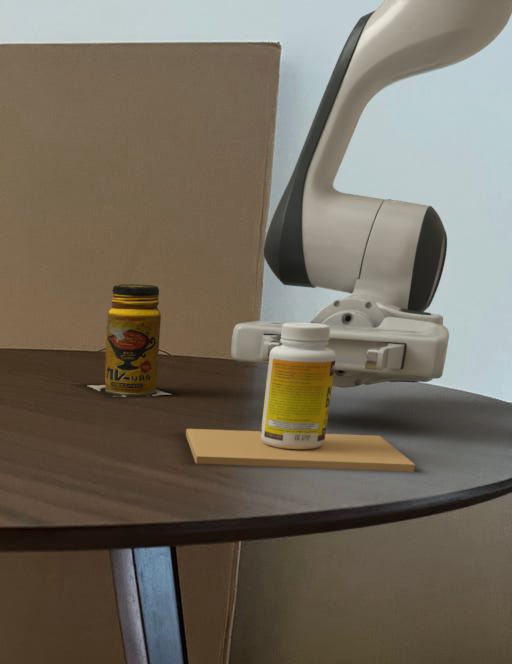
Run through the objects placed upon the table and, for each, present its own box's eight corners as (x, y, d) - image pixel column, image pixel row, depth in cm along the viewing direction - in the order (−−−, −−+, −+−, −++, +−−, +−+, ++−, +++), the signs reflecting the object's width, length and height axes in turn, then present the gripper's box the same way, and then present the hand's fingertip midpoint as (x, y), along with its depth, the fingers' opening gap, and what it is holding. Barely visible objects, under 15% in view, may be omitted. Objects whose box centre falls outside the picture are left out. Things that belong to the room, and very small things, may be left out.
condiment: (114, 398, 117) (120, 287, 112) (85, 387, 124) (90, 282, 119) (171, 396, 119) (180, 287, 114) (140, 385, 126) (147, 282, 122)
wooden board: (378, 444, 96) (380, 435, 96) (413, 473, 85) (415, 464, 85) (185, 436, 97) (186, 428, 97) (195, 465, 86) (196, 455, 86)
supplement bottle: (331, 452, 88) (348, 328, 84) (267, 450, 88) (281, 327, 84) (314, 439, 94) (329, 322, 90) (254, 437, 93) (266, 320, 90)
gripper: (254, 303, 108) (214, 312, 97) (460, 315, 100) (443, 327, 88) (248, 365, 111) (208, 381, 99) (448, 381, 102) (431, 401, 91)
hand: (321, 355), depth 94 cm, fingers open, 8 cm apart
